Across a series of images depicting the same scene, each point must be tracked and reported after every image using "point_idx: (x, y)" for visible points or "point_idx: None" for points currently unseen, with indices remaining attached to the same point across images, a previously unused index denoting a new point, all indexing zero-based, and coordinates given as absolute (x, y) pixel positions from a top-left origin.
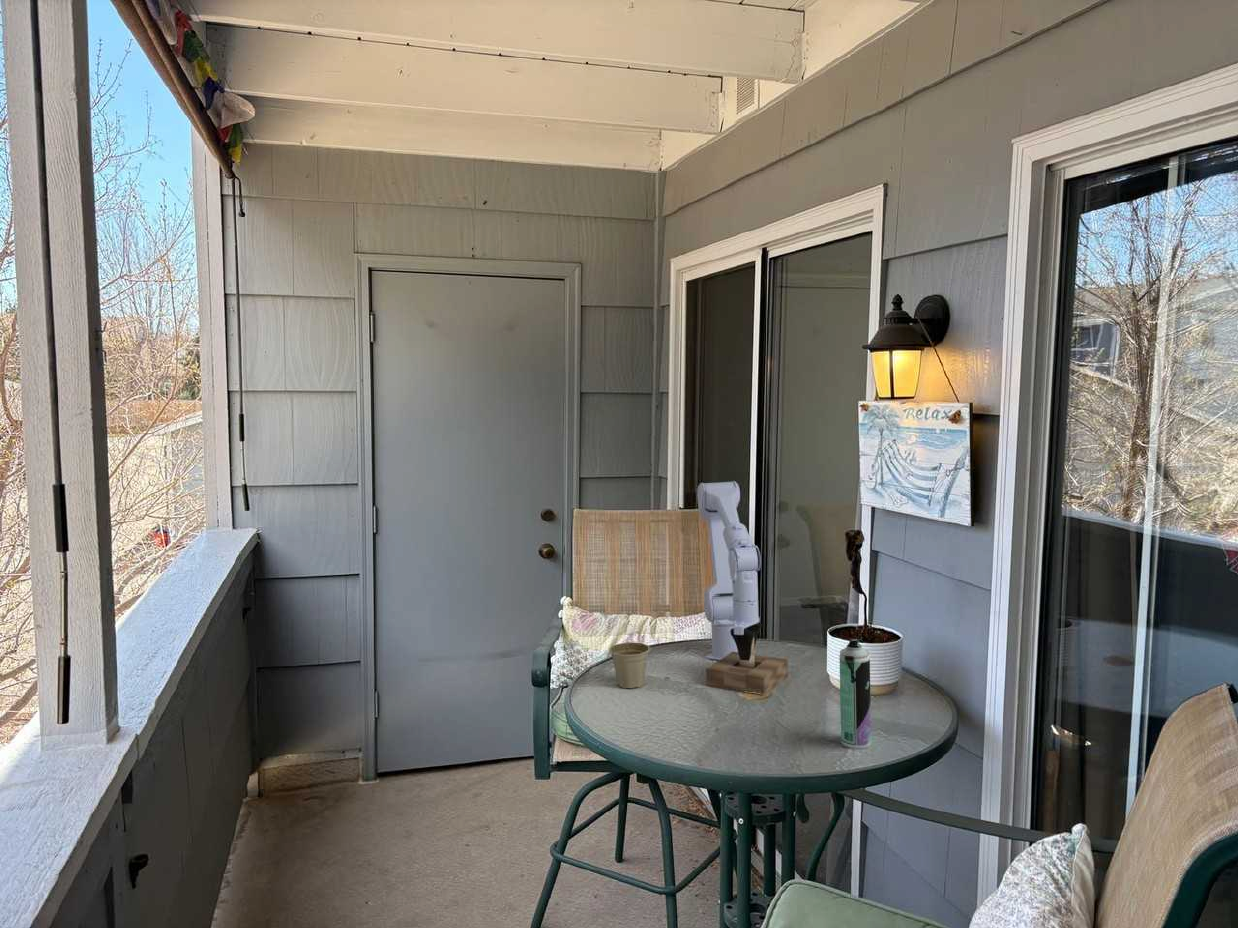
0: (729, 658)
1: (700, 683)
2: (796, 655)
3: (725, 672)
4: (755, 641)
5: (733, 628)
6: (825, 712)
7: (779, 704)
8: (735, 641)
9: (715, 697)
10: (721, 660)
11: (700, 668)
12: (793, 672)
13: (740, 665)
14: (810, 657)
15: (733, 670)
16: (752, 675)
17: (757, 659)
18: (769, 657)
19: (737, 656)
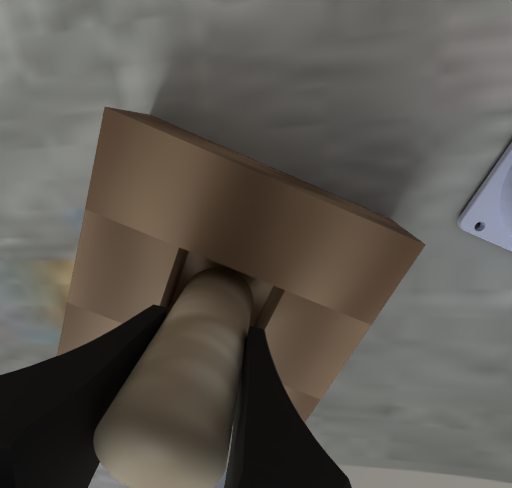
0: (298, 230)
1: (174, 79)
2: (506, 432)
3: (86, 216)
4: (231, 442)
5: (8, 458)
6: None
7: (44, 356)
8: (43, 364)
9: (33, 163)
10: (261, 188)
11: (394, 53)
12: (323, 409)
13: (190, 284)
14: (473, 463)
15: (113, 254)
16: (71, 329)
17: (283, 354)
18: (313, 397)
19: (331, 270)
